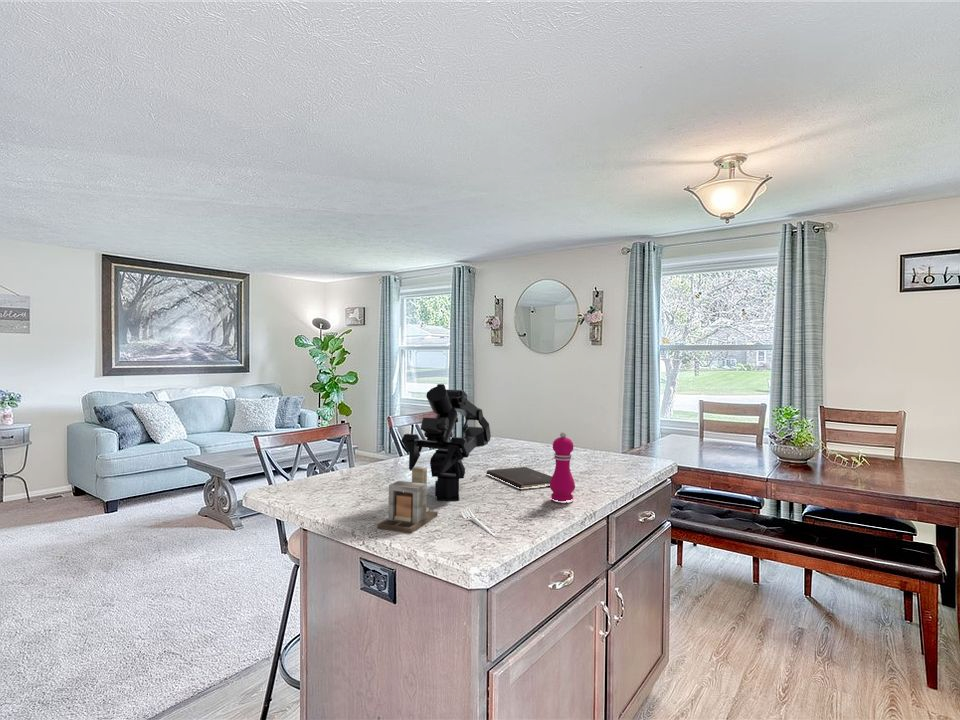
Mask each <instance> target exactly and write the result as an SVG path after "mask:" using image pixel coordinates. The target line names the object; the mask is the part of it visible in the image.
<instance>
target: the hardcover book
mask: <svg viewBox="0 0 960 720" xmlns="http://www.w3.org/2000/svg"><path fill="white" fill-rule="evenodd" d="M487 474H490V475H492V476H494V477H497V478H499V479H501V480H503V481H505V482H508V483H510V484H512V485H514V486H516V487H519V488H524V487H532V486H538V485H545V484H550V481H551V478H552V476H553V475H552V476H551V475H549V474H546V473H544V472H540V471H538V470H535V469H532V468H530V467H527V466H519V467H509V468H497V469H488V470H487V471H486V475H487Z"/></svg>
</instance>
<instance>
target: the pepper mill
mask: <svg viewBox="0 0 960 720" xmlns="http://www.w3.org/2000/svg"><path fill="white" fill-rule="evenodd" d="M552 450H553V452H554V454H553V456H554V457H553V459H555V468H554V472H553V474H552V478H551V481H550V487H549V488H550V490H551V492H552V493H551V496H550V497H551V498H552V499H554V500H558V501H566V500H571V499H573V500H574V495H573V494H572V493H573V492H574V491H575V488H576V485H575V484H576V483H575V480H574V477H573V474H572V472H571V465H570V463H571V460H572V454H571V453H572V452H573V451H574V442H573V440H571V439H570V438H568V437H567V433H566V432H565V431H561V432H560V434H559V437H557V438H556V439H554V440H553V441H552Z"/></svg>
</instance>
